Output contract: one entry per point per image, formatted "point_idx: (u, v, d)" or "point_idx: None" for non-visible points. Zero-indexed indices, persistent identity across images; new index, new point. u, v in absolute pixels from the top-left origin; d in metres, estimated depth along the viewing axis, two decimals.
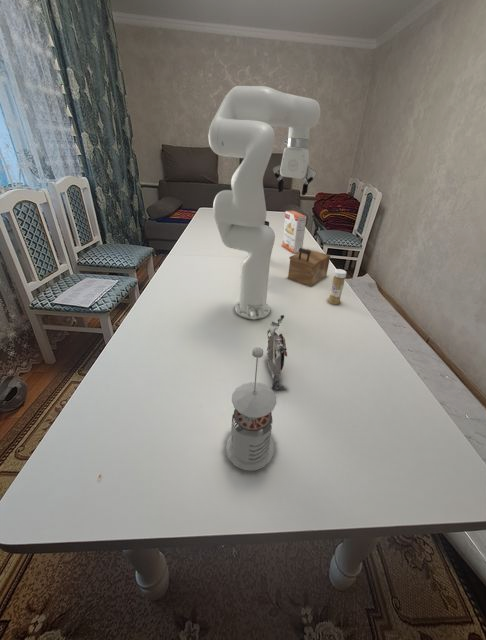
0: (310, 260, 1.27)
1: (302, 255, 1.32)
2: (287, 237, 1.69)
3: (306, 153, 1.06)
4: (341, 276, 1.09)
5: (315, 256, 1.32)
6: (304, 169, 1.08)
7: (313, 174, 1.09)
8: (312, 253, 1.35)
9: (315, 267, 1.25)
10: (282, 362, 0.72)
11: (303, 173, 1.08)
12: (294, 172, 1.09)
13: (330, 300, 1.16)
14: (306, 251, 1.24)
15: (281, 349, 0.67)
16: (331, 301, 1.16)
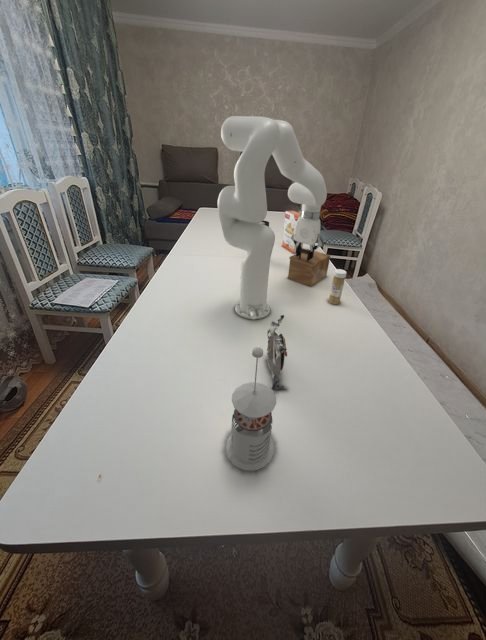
0: (310, 260, 1.27)
1: (302, 255, 1.32)
2: (287, 237, 1.69)
3: (316, 224, 1.16)
4: (341, 276, 1.09)
5: (315, 256, 1.32)
6: (314, 238, 1.18)
7: (319, 245, 1.20)
8: None
9: (315, 267, 1.25)
10: (282, 362, 0.72)
11: (313, 241, 1.18)
12: (305, 239, 1.20)
13: (330, 300, 1.16)
14: (306, 251, 1.24)
15: (281, 349, 0.67)
16: (331, 301, 1.16)
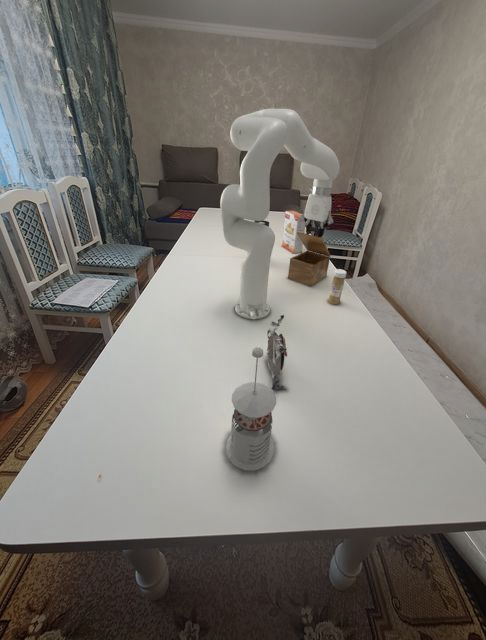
0: None
1: None
2: (287, 237, 1.69)
3: (327, 200, 1.17)
4: (341, 276, 1.09)
5: None
6: (325, 214, 1.19)
7: (329, 221, 1.21)
8: None
9: (315, 267, 1.25)
10: (282, 362, 0.72)
11: (324, 217, 1.19)
12: (316, 216, 1.21)
13: (330, 300, 1.16)
14: (316, 228, 1.25)
15: (281, 349, 0.67)
16: (331, 301, 1.16)
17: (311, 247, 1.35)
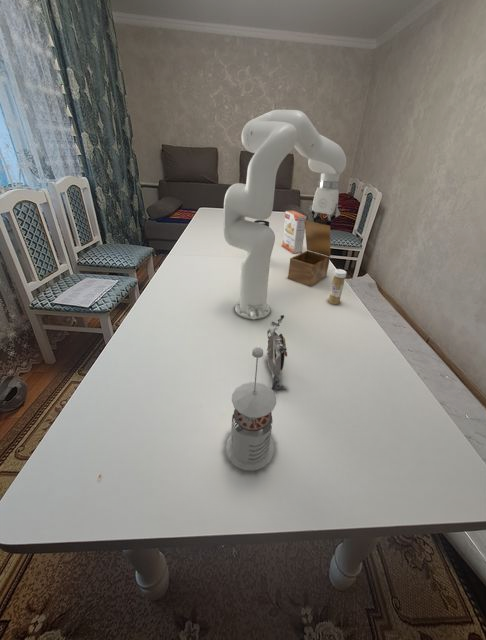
0: None
1: None
2: (287, 237, 1.69)
3: (335, 193, 1.20)
4: (341, 276, 1.09)
5: None
6: (332, 207, 1.22)
7: (337, 214, 1.24)
8: None
9: (315, 267, 1.25)
10: (282, 362, 0.72)
11: (331, 210, 1.23)
12: (323, 209, 1.24)
13: (330, 300, 1.16)
14: (324, 220, 1.28)
15: (281, 349, 0.67)
16: (331, 301, 1.16)
17: (313, 244, 1.36)
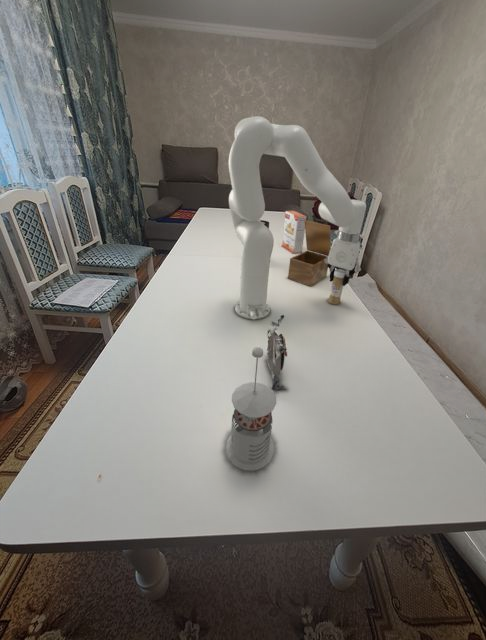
0: None
1: None
2: (287, 237, 1.69)
3: (356, 247, 1.02)
4: (341, 276, 1.09)
5: None
6: (352, 262, 1.04)
7: (357, 270, 1.06)
8: None
9: (315, 267, 1.25)
10: (282, 362, 0.72)
11: (351, 266, 1.05)
12: (342, 263, 1.06)
13: (330, 300, 1.16)
14: (324, 220, 1.28)
15: (281, 349, 0.67)
16: (331, 301, 1.16)
17: (313, 244, 1.36)
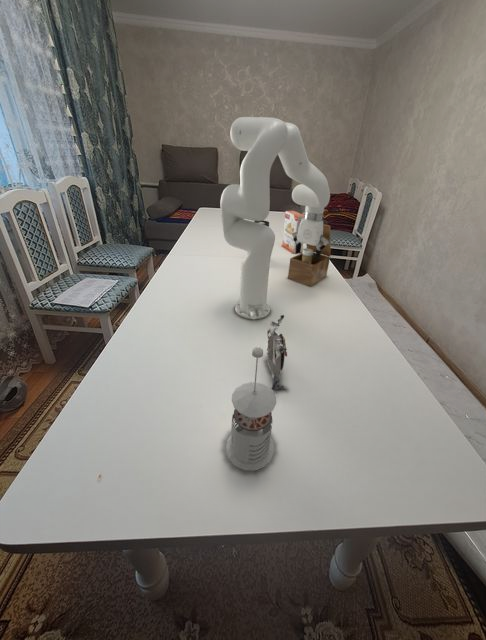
0: None
1: None
2: (287, 237, 1.69)
3: (319, 225, 1.18)
4: (308, 254, 1.26)
5: None
6: (317, 238, 1.20)
7: (325, 243, 1.21)
8: None
9: (315, 267, 1.25)
10: (282, 362, 0.72)
11: (316, 242, 1.21)
12: (308, 240, 1.23)
13: None
14: (324, 220, 1.28)
15: (281, 349, 0.67)
16: None
17: None
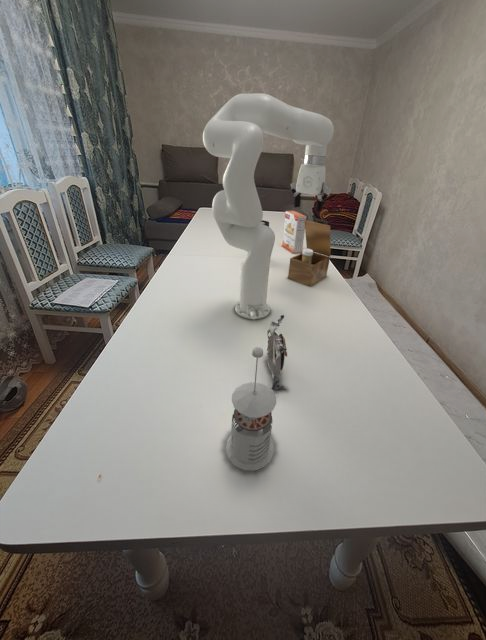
0: None
1: None
2: (287, 237, 1.69)
3: (321, 170, 1.05)
4: (308, 254, 1.26)
5: None
6: (318, 186, 1.07)
7: (328, 191, 1.07)
8: None
9: (315, 267, 1.25)
10: (282, 362, 0.72)
11: (317, 190, 1.07)
12: (309, 189, 1.09)
13: None
14: (324, 220, 1.28)
15: (281, 349, 0.67)
16: None
17: (313, 244, 1.36)
